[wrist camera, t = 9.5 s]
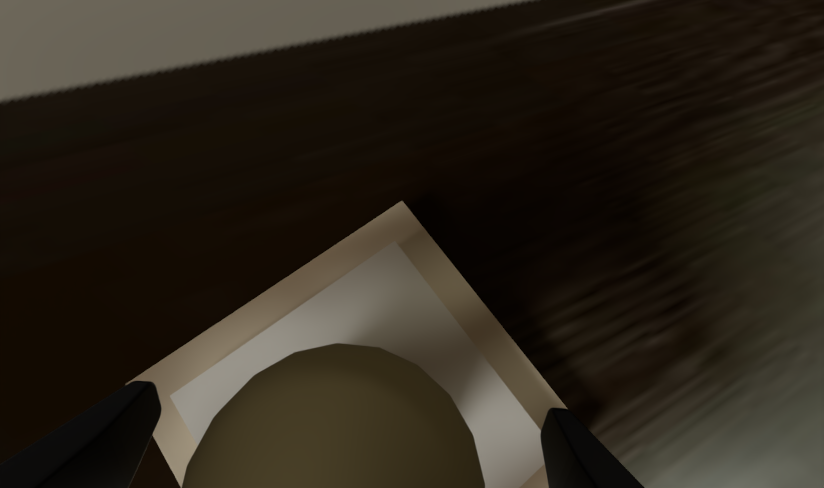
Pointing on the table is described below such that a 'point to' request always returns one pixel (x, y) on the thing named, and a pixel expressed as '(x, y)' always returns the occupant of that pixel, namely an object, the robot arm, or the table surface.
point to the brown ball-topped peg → (338, 427)
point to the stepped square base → (370, 326)
